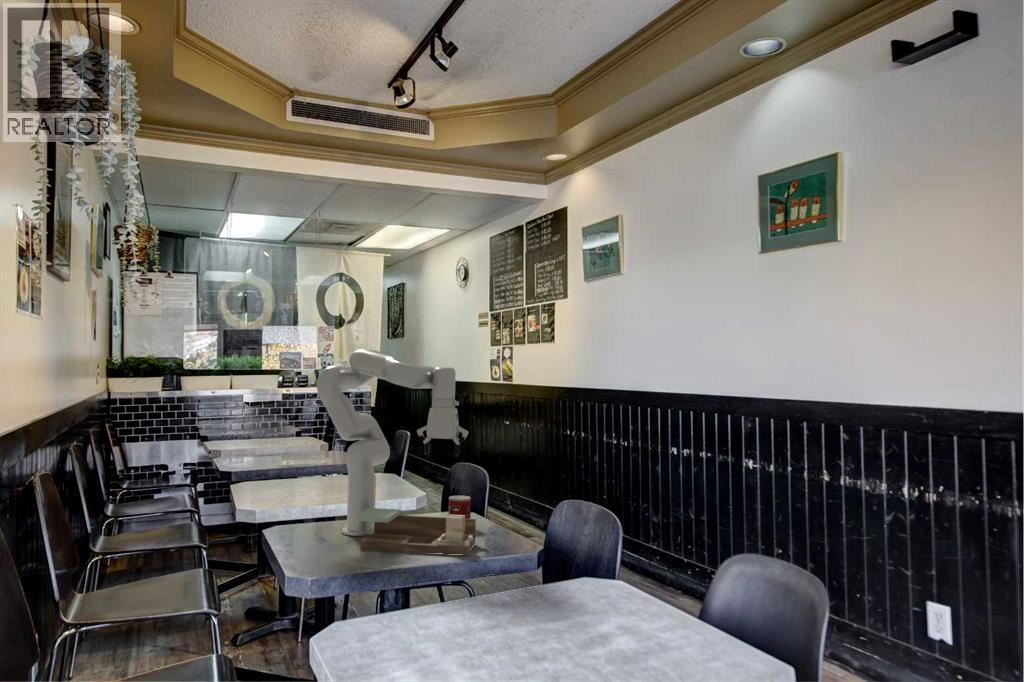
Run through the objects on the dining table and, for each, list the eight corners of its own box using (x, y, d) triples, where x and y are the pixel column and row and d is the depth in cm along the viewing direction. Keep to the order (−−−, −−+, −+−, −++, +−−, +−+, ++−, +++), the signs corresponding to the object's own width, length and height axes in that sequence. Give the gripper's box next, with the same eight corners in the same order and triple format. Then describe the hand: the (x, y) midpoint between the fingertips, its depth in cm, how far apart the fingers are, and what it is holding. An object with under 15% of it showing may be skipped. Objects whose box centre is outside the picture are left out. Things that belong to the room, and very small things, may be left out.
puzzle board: (374, 538, 219) (375, 513, 219) (475, 544, 214) (475, 518, 215) (360, 549, 205) (360, 522, 205) (466, 556, 201) (467, 528, 201)
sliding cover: (368, 512, 220) (368, 507, 220) (400, 514, 218) (400, 509, 218) (354, 520, 207) (354, 515, 207) (388, 522, 205) (388, 517, 205)
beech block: (448, 539, 210) (449, 514, 210) (464, 540, 209) (464, 515, 210) (445, 543, 205) (446, 517, 206) (461, 544, 204) (461, 518, 205)
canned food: (445, 526, 239) (446, 496, 240) (465, 524, 243) (466, 494, 243) (452, 531, 232) (453, 499, 233) (473, 529, 236) (474, 498, 236)
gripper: (471, 404, 221) (469, 455, 220) (421, 403, 223) (419, 453, 222) (466, 405, 214) (465, 458, 213) (415, 404, 216) (413, 456, 215)
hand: (441, 456), depth 217 cm, fingers open, 9 cm apart
